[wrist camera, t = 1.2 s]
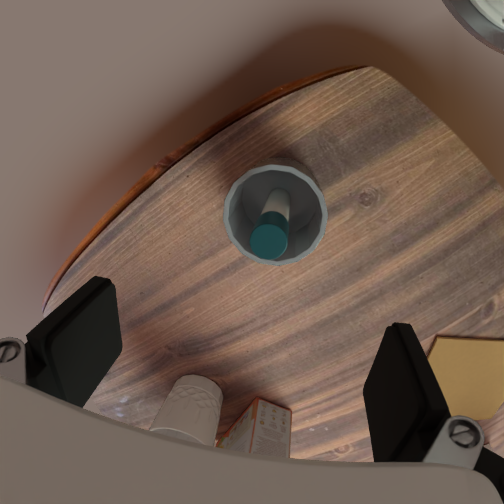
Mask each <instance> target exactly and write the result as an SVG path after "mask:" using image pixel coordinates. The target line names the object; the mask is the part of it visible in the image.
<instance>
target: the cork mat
mask: <svg viewBox="0 0 504 504" xmlns="http://www.w3.org/2000/svg"><path fill="white" fill-rule="evenodd" d="M427 359H428V361H429V363H430V366H431V368H432V370H433V372H434V374H435V377H436V379H437V381H438V383H439V386H440V388H441V390H442V393H443V395H444V397H445V400H446V402H447V405H448V407H449V411H450V414H451V416H456V415H462V416H467V417H469V418H472V419H473V420H483V419H491V418H492V417H493V415H494V414H495V413H496V411H497V410H498V409H499V407H500V406H501V404H502V403H503V401H504V340H492V339H471V338H453V337H439V336H437V337H436V339H435V342H434V344H433V346H432V348H431V350H430V353H429V355H428V357H427Z"/></svg>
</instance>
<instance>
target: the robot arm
mask: <svg viewBox="0 0 504 504" xmlns="http://www.w3.org/2000/svg"><path fill="white" fill-rule="evenodd" d="M470 1H471V3H472V4H473V5H474V6H475V7H476V8H477V10H478V11H479V12H480V13H481V14H482V15H484V16H485V17H486V18H487V19H488V20H489V21H491V22H492V23H493V24H495V25H496V26H498V27H500V28H501V29H503V30H504V0H470ZM26 337H27V340H28V342H27V343H26V344H24V343H23V342H22V341H21V340H19V339H18V338H13V337H8V338H3V339H0V504H504V458H502V457H501V456H499V455H497V454H495V453H494V452H492V451H490V450H489V449H487V448H485V447H484V446H483V444H484V439H485V437H484V432H483V430H482V428H481V426H480V425H479V424H478V423H477V422H476V421H475V420H473V419H472V418H469V417H467V416H462V415H456V416H451V414H450V411H449V407H448V405H447V402H446V400H445V397H444V395H443V393H442V390H441V388H440V386H439V383H438V381H437V379H436V377H435V374H434V372H433V370H432V368H431V366H430V363H429V361H428V359H427V357H426V355H425V353H424V351H423V348H422V346H421V344H420V342H419V340H418V338H417V336H416V334H415V332H414V330H413V328H412V326H411V325H410V324H406V323H396V322H395V323H393V324H392V326H388V327H387V328H386V331H385V333H384V336H383V339H382V342H381V344H380V347H379V350H378V352H377V355H376V357H375V360H374V362H373V365H372V367H371V370H370V372H369V375H368V377H367V379H366V382H365V384H364V388H363V396H364V402H365V407H366V413H367V419H368V425H369V431H370V437H371V444H372V450H373V457H374V462H339V461H319V460H305V459H294V458H284V457H275V456H268V455H260V454H253V453H247V452H241V451H235V450H229V449H224V448H218V447H213V446H208V445H204V444H199V443H195V442H190V441H186V440H182V439H178V438H174V437H170V436H166V435H162V434H159V433H155V432H152V431H148V430H145V429H141V428H138V427H135V426H132V425H128V424H125V423H122V422H119V421H116V420H113V419H110V418H107V417H105V416H102V415H99V414H96V413H94V412H91V411H88V410H86V409H83V406H84V405H85V403H86V402H87V400H88V399H89V398H90V396H91V395H92V393H93V392H94V390H95V389H96V388H97V386H98V385H99V383H100V382H101V380H102V379H103V378H104V376H105V375H106V373H107V372H108V370H109V369H110V368H111V366H112V365H113V363H114V362H115V361H116V359H117V358H118V356H119V355H120V353H121V351H122V338H121V331H120V324H119V316H118V307H117V298H116V288H115V285H114V284H112V282H111V280H110V279H108V278H103V277H98V276H94V277H93V278H91V279H90V280H89V281H88V282H87V283H85V284H84V285H83V286H82V287H81V288H79V289H78V290H77V291H76V292H75V293H73V294H72V295H71V296H70V297H69V298H68V299H66V300H65V301H64V302H63V303H62V304H61V305H59V306H58V307H57V308H56V309H55V310H54V311H53V312H51V313H50V314H49V315H48V316H47V317H46V318H45V319H43V320H42V321H41V322H40V323H39V324H38V325H37V326H36V327H35V328H34V329H32V330H31V331H30V332H29V333H28V334H27V335H26Z"/></svg>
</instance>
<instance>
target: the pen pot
mask: <svg viewBox="0 0 504 504" xmlns="http://www.w3.org/2000/svg"><path fill="white" fill-rule="evenodd" d="M277 188H282V189H284V190H286V191H287V192H288V193H289V195H290V209H289V219H288V223H289V234H288V245H287V248H286V250H285V252H284V253H283V254H282V255H281V256H280V257H278V258H276V259H271V260H267V259H263V258H260V257H258V256H257V255H256V254H255V253H254V252H253V251H252V249H251V247H250V244H249V238H250V234H251V232H252V230H253V228H254V225H255V223H256V221H257V219H258V217H259V216H260V215H261V213H262V211H263V208H264V206H265V204H266V201H267V199H268V197H269V194H270V193H271V191H273V190H274V189H277ZM327 218H328V212H327V208H326V204H325V199H324V195H323V193H322V190H321V188H320V185H319V183H318V181H317V179H316V178H315V177H314V175H313V174H312V173H311V171H310V170H309V169H308V168H307V167H306V166H304V165H303V164H301V163H300V162H298V161H296V160H294V159H289V158H284V157H274V158H269V159H266V160H263V161H260V162H258V163H257V164H256V165H254V166H253V167H252V168H251V169H249V170H248V171H247V172H246V173H244V174H243V175H242V176H241V177H240V178H238V179H237V180H236V181H235V182H234V183H233V185H232V187H231V189H230V191H229V192H228V194H227V196H226V198H225V201H224V212H223V222H224V225H225V228H226V231H227V234H228V237H229V239H230V240H231V241H232V243H233V244H234V245H235V246H236V247H237V249H238V250H239V251H240V252H241V253H242V254H243V255H245V256H247V257H249V258H251V259H252V260H254V261H256V262H258V263H262V264H268V265H275V266H280V265H285V264H289V263H294V262H297V261H299V260H301V259H302V258H304V257H305V256H307V255H308V254H310V253H311V252H313V250H315V248H316V247H317V245H318V244H319V242H320V240H321V239H322V237H323V236H324V234H325V229H326V224H327Z"/></svg>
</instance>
